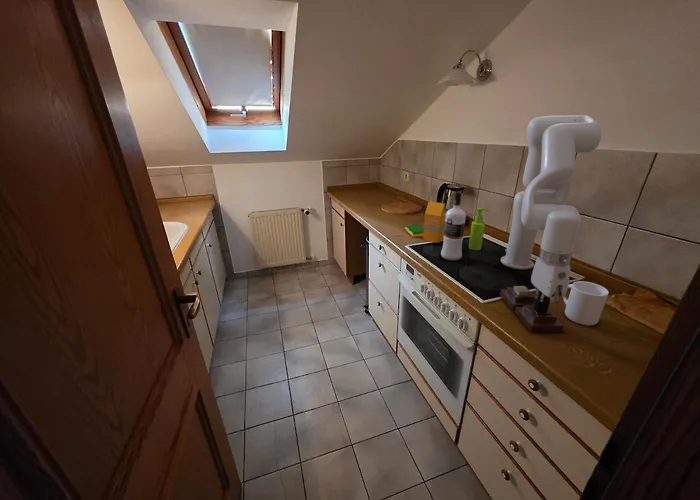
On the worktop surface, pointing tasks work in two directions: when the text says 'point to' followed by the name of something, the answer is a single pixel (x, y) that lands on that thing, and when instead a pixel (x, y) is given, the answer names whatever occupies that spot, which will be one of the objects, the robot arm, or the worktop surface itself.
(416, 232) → the dish sponge
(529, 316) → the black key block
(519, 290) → the key ivory
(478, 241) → the soap dispenser
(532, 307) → the key black
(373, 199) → the worktop surface
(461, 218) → the vodka
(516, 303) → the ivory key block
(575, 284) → the mug
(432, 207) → the orange juice
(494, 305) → the worktop surface
